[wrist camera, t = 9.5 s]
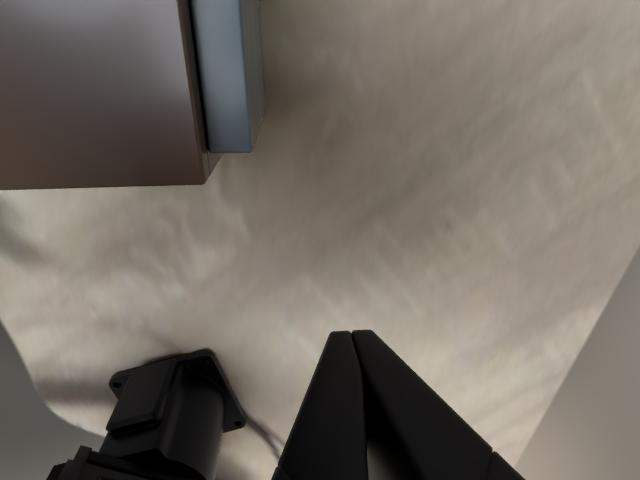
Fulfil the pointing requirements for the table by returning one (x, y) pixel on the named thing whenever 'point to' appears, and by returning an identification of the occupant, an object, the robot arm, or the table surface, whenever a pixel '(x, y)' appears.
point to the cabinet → (100, 95)
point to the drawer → (229, 71)
